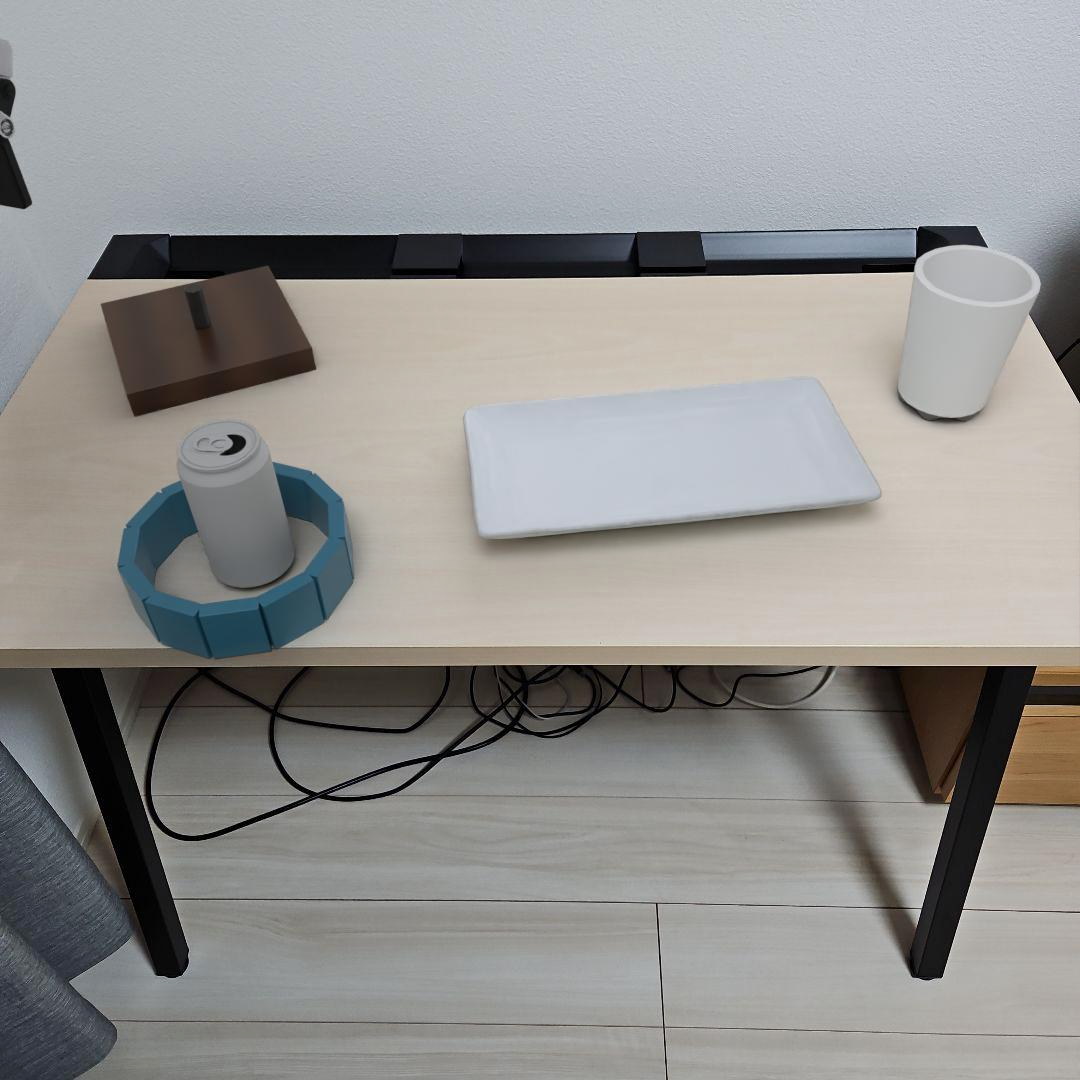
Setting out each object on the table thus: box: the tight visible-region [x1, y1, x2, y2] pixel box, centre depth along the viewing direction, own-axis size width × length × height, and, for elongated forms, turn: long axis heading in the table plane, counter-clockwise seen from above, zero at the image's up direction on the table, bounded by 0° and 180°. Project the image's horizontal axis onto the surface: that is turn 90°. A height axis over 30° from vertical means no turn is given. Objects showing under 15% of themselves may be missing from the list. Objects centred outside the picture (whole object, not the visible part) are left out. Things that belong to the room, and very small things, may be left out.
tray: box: [462, 375, 883, 540], centre depth 86 cm, size 17×31×4 cm, turn 97°
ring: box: [116, 461, 355, 660], centre depth 78 cm, size 17×17×4 cm
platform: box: [100, 265, 317, 417], centre depth 101 cm, size 17×17×6 cm
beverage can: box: [176, 418, 296, 589], centre depth 77 cm, size 6×6×12 cm
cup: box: [897, 244, 1042, 422], centre depth 90 cm, size 10×10×13 cm
